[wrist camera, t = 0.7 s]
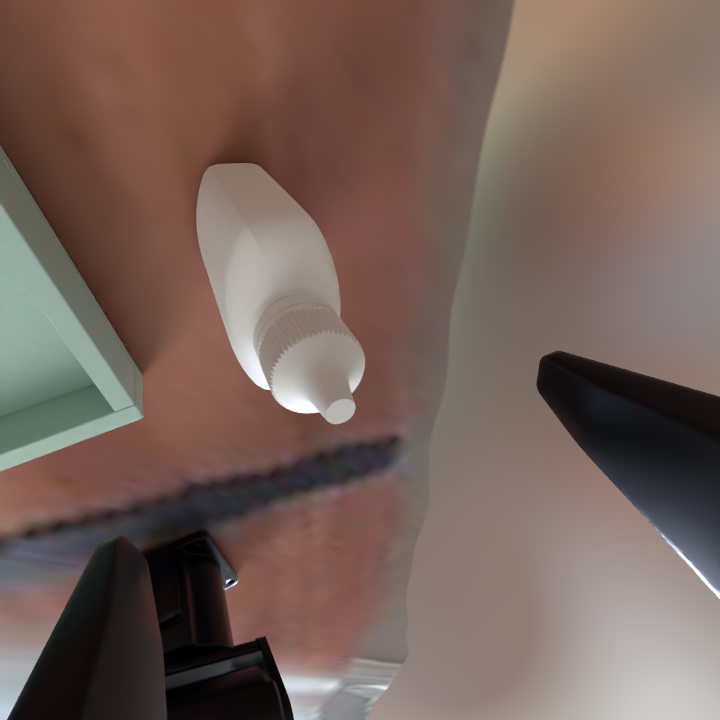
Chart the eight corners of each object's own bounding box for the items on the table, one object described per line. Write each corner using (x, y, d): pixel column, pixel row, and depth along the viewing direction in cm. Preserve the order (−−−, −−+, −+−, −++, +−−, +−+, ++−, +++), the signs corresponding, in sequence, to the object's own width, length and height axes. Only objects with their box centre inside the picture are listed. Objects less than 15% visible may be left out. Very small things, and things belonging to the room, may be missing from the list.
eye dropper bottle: (313, 193, 19) (479, 331, 10) (259, 305, 21) (356, 507, 12) (214, 139, 16) (314, 259, 7) (162, 272, 18) (191, 497, 9)
